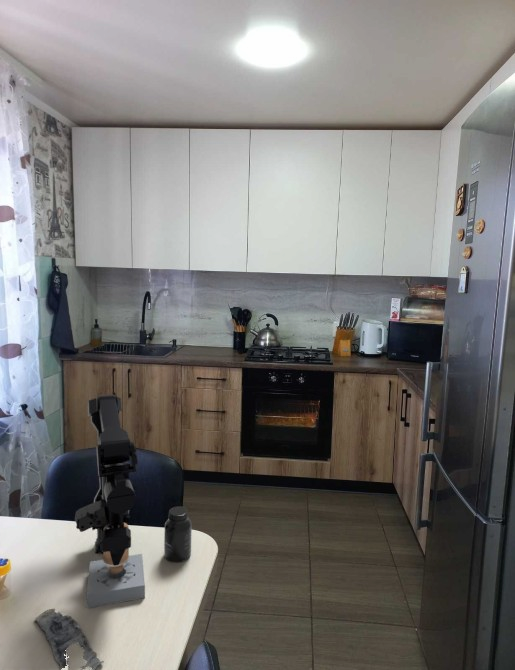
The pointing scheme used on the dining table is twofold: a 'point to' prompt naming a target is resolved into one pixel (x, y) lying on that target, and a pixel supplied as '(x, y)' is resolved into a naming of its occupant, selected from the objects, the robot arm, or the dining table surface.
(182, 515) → the supplement bottle
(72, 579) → the dining table surface
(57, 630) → the driftwood
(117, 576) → the board
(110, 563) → the peg
